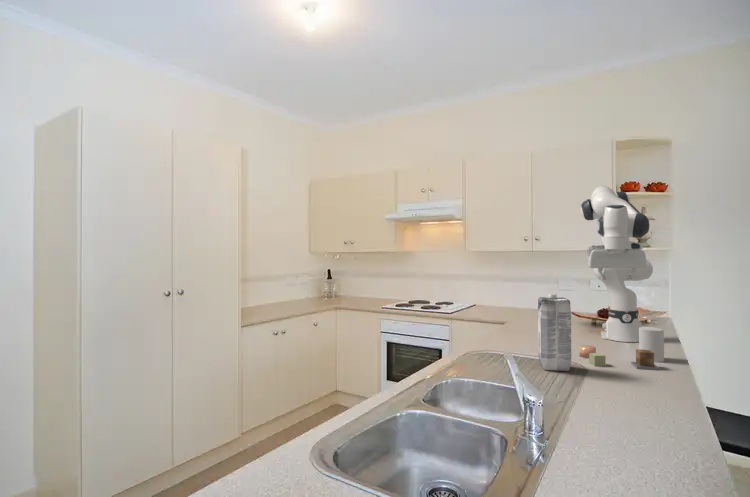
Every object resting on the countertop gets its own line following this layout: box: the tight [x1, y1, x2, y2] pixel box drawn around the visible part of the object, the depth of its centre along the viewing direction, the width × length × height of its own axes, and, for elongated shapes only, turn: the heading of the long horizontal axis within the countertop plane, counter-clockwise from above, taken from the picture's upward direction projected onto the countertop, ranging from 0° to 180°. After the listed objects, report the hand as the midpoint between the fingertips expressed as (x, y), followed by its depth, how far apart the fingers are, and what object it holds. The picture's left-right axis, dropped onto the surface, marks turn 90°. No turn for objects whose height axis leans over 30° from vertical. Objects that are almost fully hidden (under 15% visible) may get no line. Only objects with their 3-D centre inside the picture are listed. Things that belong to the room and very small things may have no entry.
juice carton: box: [537, 293, 572, 372], centre depth 153 cm, size 9×10×27 cm
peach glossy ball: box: [578, 344, 597, 359], centre depth 169 cm, size 6×6×4 cm
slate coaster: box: [630, 361, 660, 371], centre depth 154 cm, size 7×7×1 cm
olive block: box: [588, 352, 606, 367], centre depth 157 cm, size 4×4×4 cm
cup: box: [638, 326, 665, 363], centre depth 164 cm, size 8×8×12 cm
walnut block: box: [635, 348, 655, 367], centre depth 154 cm, size 4×4×5 cm
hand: (616, 279), depth 167 cm, fingers open, 8 cm apart
